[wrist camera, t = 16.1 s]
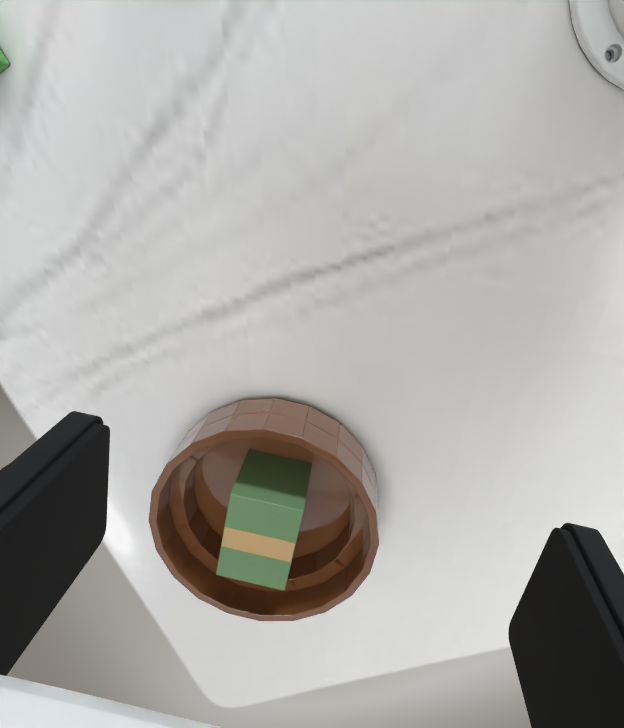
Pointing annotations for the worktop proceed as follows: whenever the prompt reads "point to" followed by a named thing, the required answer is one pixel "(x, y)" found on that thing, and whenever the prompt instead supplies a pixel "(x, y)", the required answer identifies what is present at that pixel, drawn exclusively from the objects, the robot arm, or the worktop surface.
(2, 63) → the ink box
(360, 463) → the bowl
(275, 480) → the package
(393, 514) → the worktop surface
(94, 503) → the robot arm
